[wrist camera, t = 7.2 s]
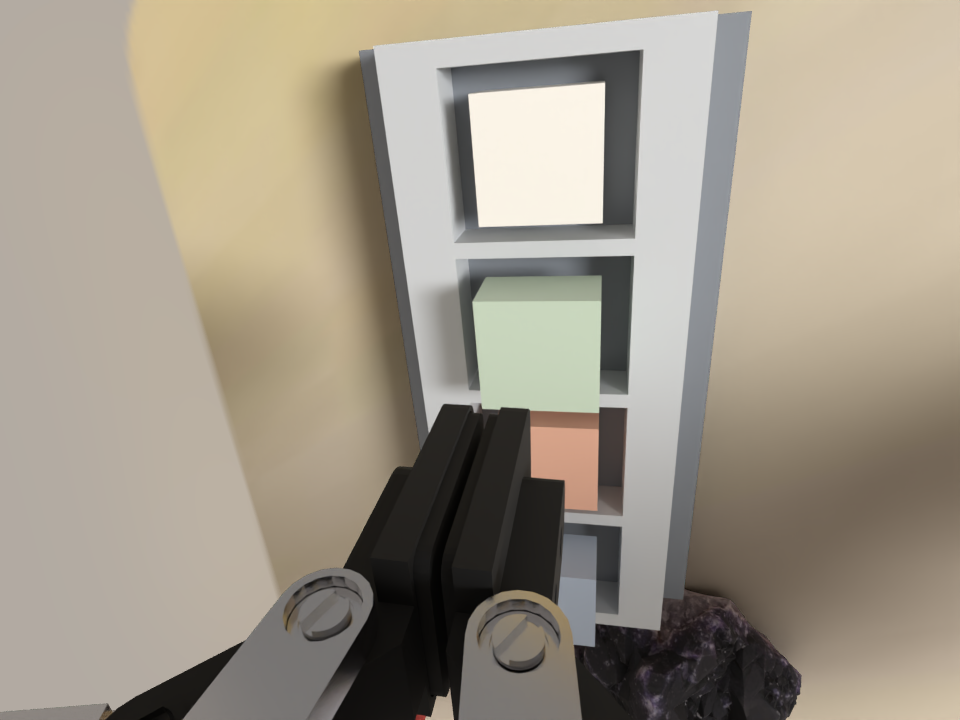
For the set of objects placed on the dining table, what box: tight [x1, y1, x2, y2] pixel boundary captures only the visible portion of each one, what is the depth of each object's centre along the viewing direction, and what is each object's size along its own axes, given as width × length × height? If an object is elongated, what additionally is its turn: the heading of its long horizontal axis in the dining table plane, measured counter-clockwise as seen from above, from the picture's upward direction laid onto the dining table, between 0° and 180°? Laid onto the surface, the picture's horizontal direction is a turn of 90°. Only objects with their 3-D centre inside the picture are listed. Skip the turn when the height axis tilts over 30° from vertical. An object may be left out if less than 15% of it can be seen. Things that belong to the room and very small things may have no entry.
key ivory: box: [468, 81, 605, 227], centre depth 19 cm, size 4×4×2 cm
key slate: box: [558, 534, 597, 647], centre depth 26 cm, size 4×4×2 cm
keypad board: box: [359, 11, 752, 631], centre depth 25 cm, size 13×26×4 cm, turn 5°
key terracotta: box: [498, 411, 599, 511], centre depth 25 cm, size 4×4×2 cm
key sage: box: [472, 275, 602, 413], centre depth 21 cm, size 4×4×2 cm
